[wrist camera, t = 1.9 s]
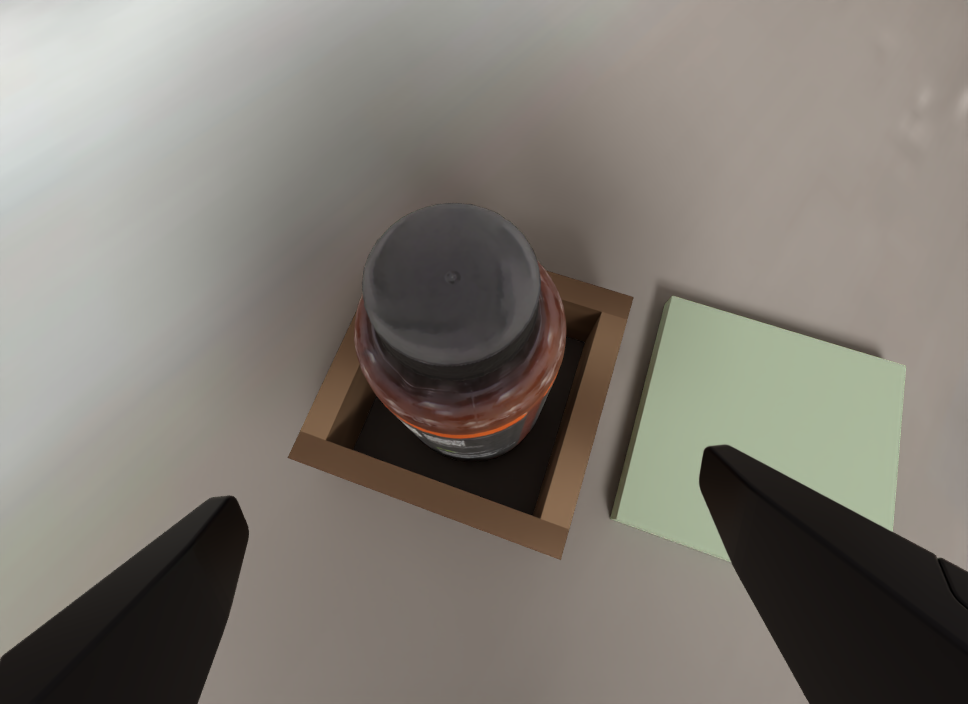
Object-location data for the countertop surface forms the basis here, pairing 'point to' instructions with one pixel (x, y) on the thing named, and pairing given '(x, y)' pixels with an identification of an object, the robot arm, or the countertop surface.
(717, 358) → the sage rubber mat
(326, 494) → the countertop surface
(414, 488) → the walnut collar
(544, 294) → the supplement bottle
